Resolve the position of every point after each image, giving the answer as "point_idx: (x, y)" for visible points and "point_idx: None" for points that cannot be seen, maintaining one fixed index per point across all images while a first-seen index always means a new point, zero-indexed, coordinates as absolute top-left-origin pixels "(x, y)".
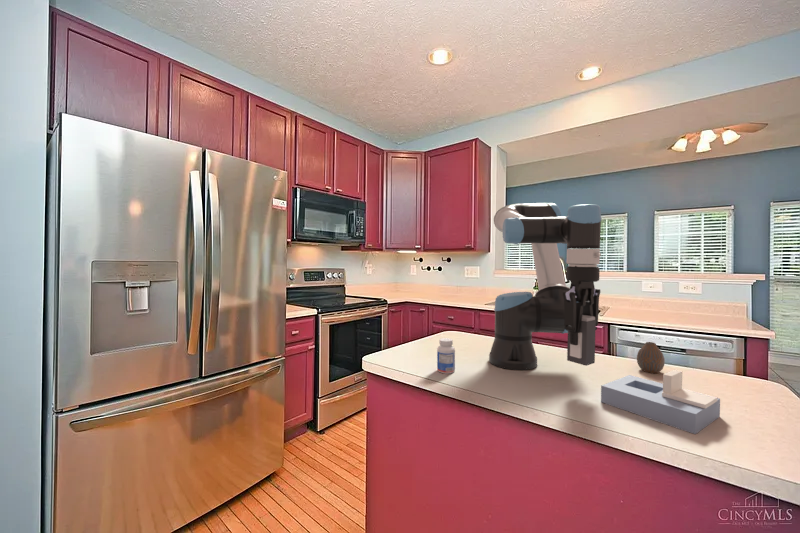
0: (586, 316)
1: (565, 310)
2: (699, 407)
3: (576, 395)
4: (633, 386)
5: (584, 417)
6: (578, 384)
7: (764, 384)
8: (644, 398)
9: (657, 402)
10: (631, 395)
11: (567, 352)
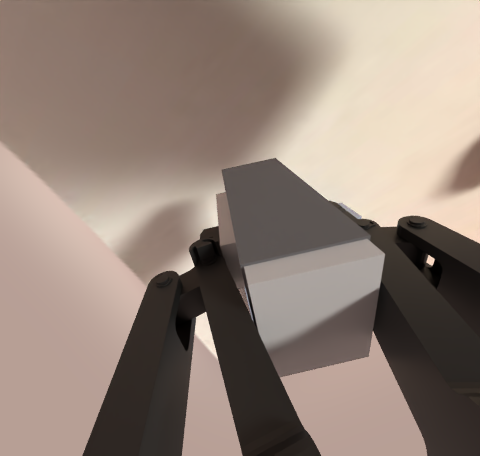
0: (328, 343)
1: (101, 431)
2: None
3: (210, 188)
4: None
5: (146, 264)
6: (275, 134)
7: None
8: (249, 306)
9: (252, 319)
10: (245, 290)
11: (223, 178)
